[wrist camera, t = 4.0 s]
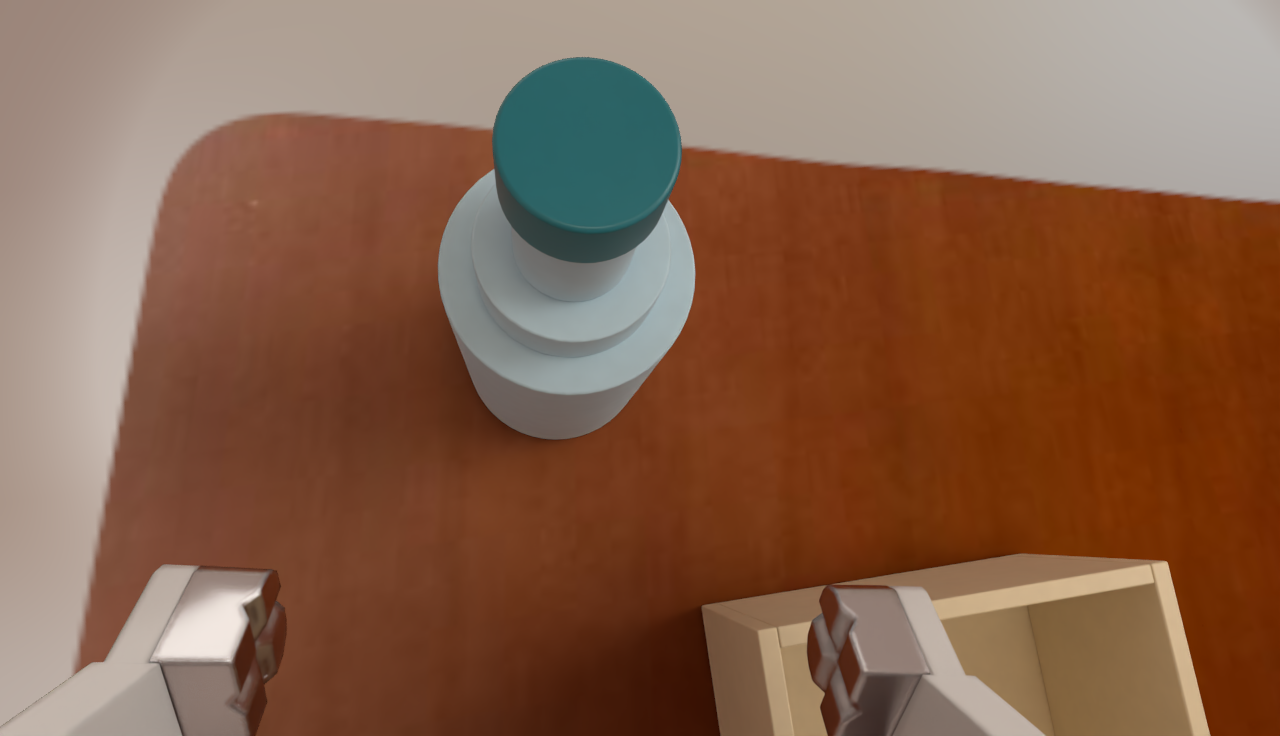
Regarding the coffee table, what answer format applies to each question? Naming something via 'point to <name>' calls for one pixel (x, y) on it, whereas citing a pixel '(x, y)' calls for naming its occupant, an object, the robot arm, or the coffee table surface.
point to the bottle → (570, 250)
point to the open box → (988, 647)
